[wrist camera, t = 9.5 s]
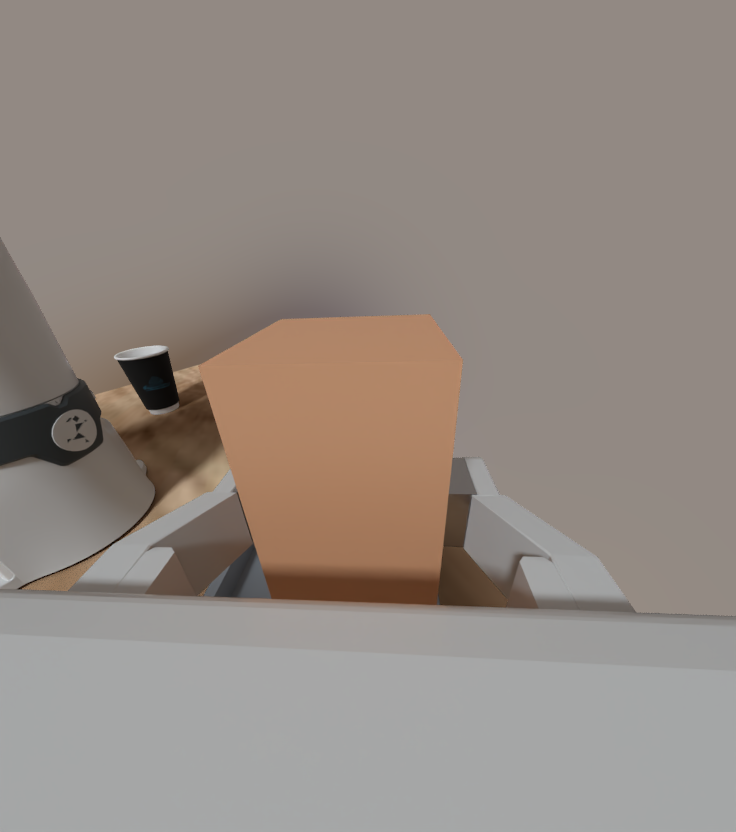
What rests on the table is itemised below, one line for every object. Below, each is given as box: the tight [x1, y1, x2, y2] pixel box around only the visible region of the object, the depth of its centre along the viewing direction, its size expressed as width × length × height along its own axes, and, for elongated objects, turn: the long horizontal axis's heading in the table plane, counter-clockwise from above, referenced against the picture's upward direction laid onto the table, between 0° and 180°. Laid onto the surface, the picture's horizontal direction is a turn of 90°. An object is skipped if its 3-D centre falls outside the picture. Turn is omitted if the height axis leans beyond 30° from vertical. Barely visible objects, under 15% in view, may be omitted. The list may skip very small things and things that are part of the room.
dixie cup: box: [114, 346, 179, 415], centre depth 54 cm, size 8×8×11 cm
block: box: [198, 314, 463, 605], centre depth 9 cm, size 4×4×10 cm
